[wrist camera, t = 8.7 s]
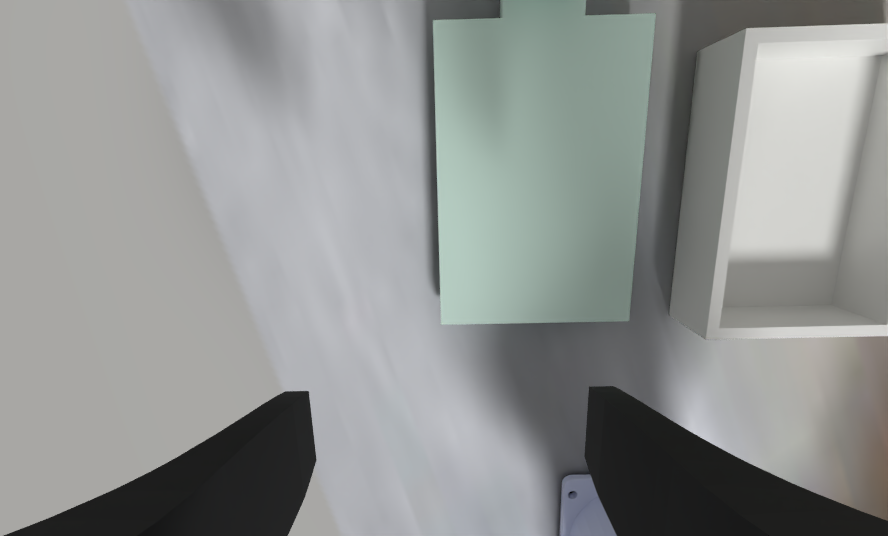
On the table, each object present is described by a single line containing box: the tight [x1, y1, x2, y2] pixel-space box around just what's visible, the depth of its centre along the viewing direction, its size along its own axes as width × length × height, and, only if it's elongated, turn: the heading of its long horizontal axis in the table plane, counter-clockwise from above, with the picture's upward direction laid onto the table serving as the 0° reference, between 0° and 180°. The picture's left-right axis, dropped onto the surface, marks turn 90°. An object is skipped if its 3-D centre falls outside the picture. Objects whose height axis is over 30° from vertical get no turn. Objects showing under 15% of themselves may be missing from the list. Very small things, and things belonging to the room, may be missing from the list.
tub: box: [669, 23, 888, 340], centre depth 18 cm, size 12×8×3 cm, turn 2°
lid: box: [433, 0, 656, 325], centre depth 16 cm, size 17×9×4 cm, turn 1°
